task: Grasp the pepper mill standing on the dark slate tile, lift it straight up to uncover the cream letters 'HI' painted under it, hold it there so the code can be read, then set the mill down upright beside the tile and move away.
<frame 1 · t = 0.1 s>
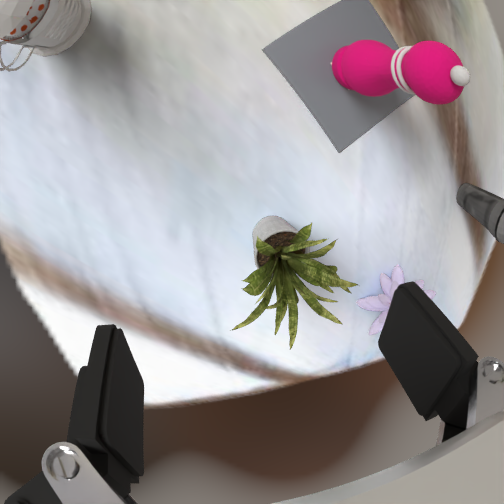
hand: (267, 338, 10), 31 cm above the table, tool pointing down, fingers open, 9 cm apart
code tile: (352, 67, 34), on the table
pepper mill: (352, 67, 34), resting on code tile
french press: (53, 26, 24), on the table
water lily: (385, 286, 55), on the table
beverage cup: (463, 193, 48), on the table
house plant: (264, 239, 45), on the table
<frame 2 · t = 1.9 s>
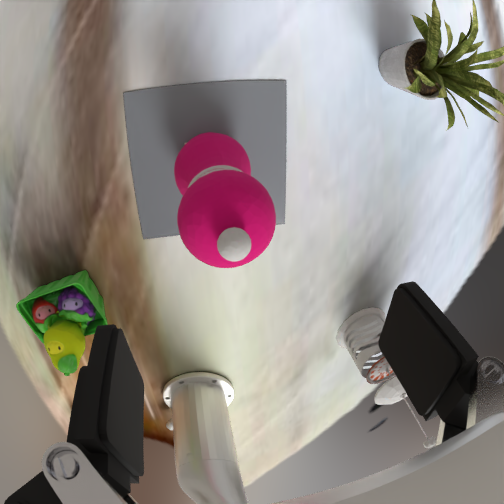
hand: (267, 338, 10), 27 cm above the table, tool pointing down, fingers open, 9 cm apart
code tile: (209, 160, 33), on the table
pepper mill: (209, 159, 33), resting on code tile
french press: (365, 325, 52), on the table
fruit basket: (72, 295, 38), on the table
house plant: (403, 66, 31), on the table
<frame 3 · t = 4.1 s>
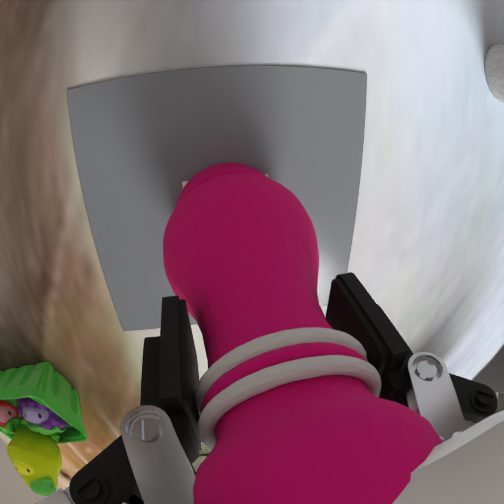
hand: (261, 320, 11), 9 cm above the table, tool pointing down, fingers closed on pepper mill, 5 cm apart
code tile: (228, 211, 19), on the table
pepper mill: (227, 211, 19), resting on code tile, touching gripper
fruit basket: (38, 384, 24), on the table
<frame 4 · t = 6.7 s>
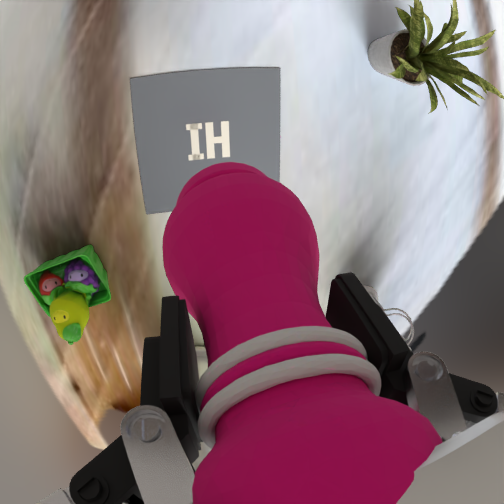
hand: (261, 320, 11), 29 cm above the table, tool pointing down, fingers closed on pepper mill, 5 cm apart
code tile: (208, 140, 35), on the table
pepper mill: (227, 211, 19), point 20 cm above the table, touching gripper
french press: (358, 303, 54), on the table
fruit basket: (77, 270, 40), on the table
house plant: (391, 55, 32), on the table
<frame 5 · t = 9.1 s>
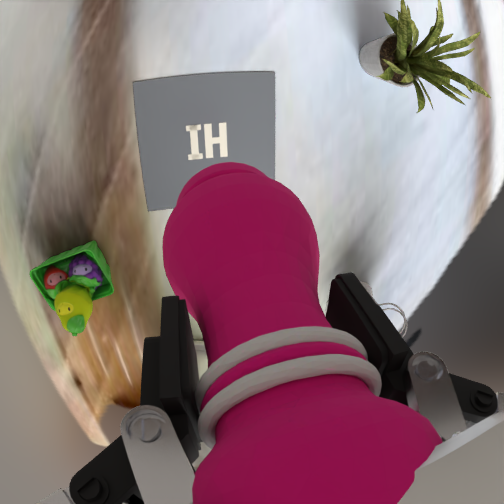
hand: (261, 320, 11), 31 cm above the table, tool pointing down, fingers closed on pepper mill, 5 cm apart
code tile: (207, 140, 37), on the table
pepper mill: (228, 211, 19), point 22 cm above the table, touching gripper
fruit basket: (80, 265, 42), on the table
house plant: (382, 58, 35), on the table
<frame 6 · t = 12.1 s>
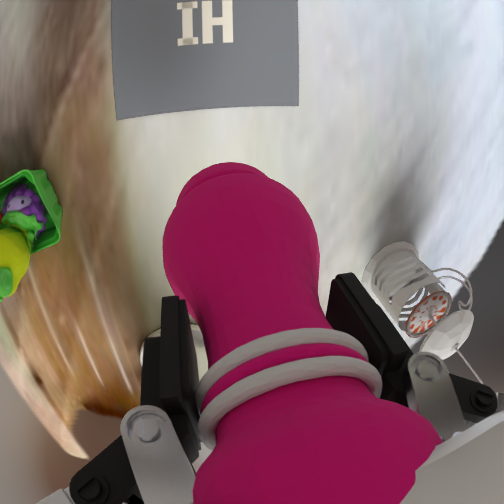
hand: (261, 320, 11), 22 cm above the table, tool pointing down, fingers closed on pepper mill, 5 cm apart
code tile: (205, 22, 22), on the table
pepper mill: (228, 211, 19), point 12 cm above the table, touching gripper
french press: (395, 267, 41), on the table
fruit basket: (27, 209, 27), on the table
when the fingers open (11 cm above the table, at t = 14.5 s): pepper mill drops 2 cm, on the table.
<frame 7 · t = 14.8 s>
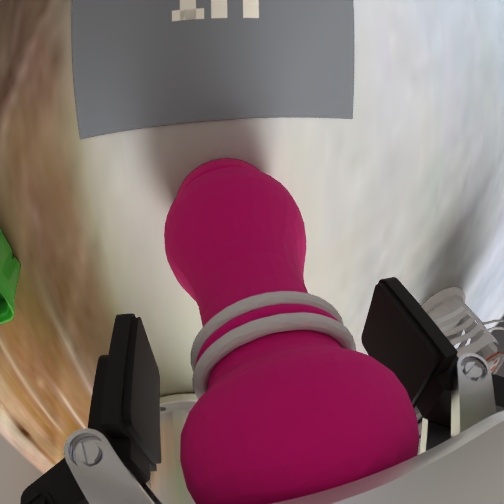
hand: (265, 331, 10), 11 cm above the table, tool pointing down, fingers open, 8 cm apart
pepper mill: (224, 203, 20), on the table
french press: (440, 315, 32), on the table
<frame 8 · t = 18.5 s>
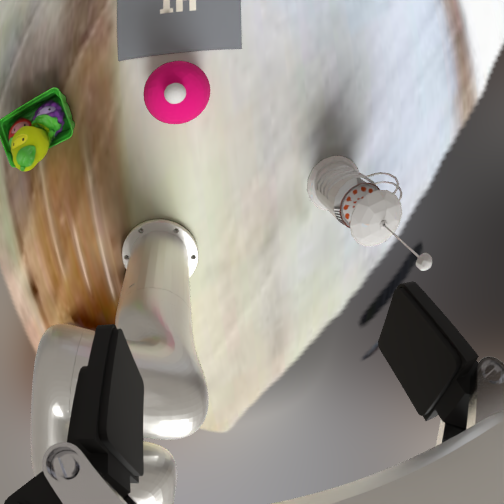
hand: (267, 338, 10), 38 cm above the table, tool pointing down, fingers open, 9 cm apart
pepper mill: (181, 89, 39), on the table
french press: (338, 180, 50), on the table
fruit basket: (47, 126, 36), on the table
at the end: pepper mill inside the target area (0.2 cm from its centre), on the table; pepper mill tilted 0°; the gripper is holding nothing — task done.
